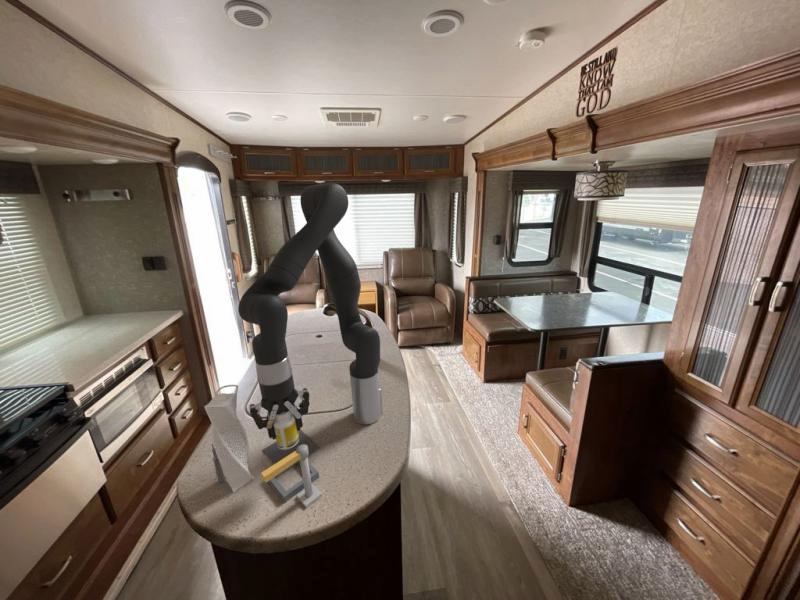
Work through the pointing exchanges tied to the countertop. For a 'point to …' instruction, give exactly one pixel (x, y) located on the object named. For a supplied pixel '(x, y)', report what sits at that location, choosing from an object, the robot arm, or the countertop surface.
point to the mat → (279, 454)
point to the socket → (300, 485)
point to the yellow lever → (285, 463)
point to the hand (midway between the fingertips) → (286, 432)
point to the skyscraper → (228, 442)
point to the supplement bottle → (285, 430)
